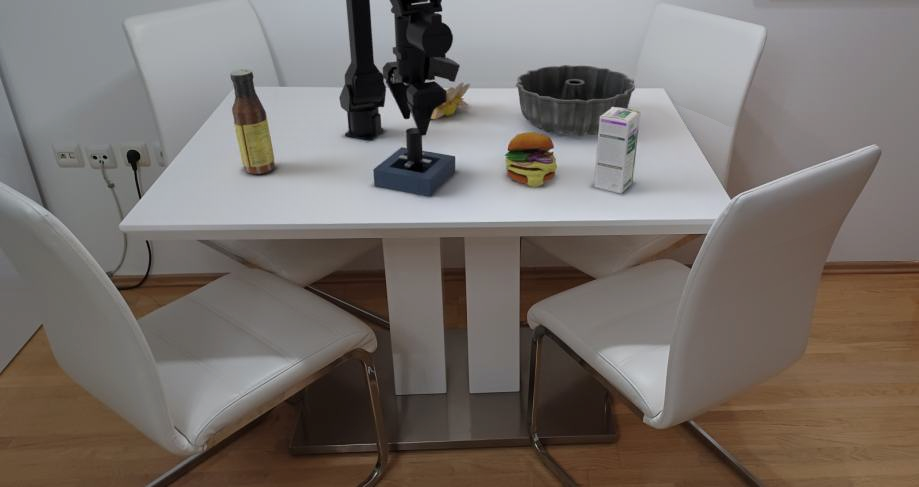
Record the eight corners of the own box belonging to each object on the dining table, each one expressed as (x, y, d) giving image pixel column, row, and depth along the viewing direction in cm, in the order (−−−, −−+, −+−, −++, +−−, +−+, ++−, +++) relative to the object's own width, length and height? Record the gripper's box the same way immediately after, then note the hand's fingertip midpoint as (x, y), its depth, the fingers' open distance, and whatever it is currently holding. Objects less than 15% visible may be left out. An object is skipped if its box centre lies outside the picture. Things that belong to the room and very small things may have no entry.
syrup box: (621, 194, 134) (631, 120, 126) (592, 187, 136) (599, 114, 129) (632, 183, 138) (642, 110, 130) (603, 176, 140) (611, 105, 133)
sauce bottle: (281, 165, 145) (268, 68, 135) (264, 177, 140) (249, 78, 130) (253, 161, 147) (238, 65, 137) (236, 173, 142) (218, 74, 132)
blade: (392, 182, 138) (390, 134, 133) (408, 169, 143) (406, 122, 138) (423, 188, 136) (422, 139, 131) (438, 175, 141) (437, 127, 136)
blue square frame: (374, 186, 137) (373, 169, 135) (402, 162, 146) (401, 146, 145) (430, 196, 133) (429, 179, 131) (455, 172, 142) (455, 155, 141)
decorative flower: (447, 91, 180) (451, 55, 173) (479, 112, 174) (484, 75, 168) (402, 110, 171) (404, 73, 164) (434, 132, 166) (438, 95, 159)
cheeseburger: (508, 189, 135) (507, 136, 132) (501, 178, 145) (500, 129, 143) (561, 186, 136) (561, 133, 133) (550, 176, 146) (550, 126, 143)
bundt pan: (499, 135, 159) (500, 92, 154) (532, 99, 180) (534, 59, 175) (618, 152, 151) (624, 106, 146) (638, 111, 172) (643, 70, 167)
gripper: (474, 51, 122) (473, 138, 130) (435, 27, 137) (437, 105, 145) (412, 59, 118) (415, 147, 126) (379, 32, 133) (384, 113, 141)
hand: (414, 126), depth 134 cm, fingers open, 9 cm apart
